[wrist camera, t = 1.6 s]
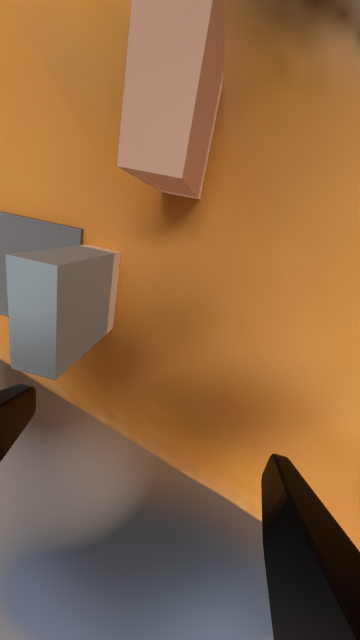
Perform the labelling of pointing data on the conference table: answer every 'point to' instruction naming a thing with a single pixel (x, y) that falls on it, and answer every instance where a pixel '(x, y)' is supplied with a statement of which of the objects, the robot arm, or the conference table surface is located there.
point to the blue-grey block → (59, 305)
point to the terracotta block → (171, 92)
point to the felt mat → (30, 242)
